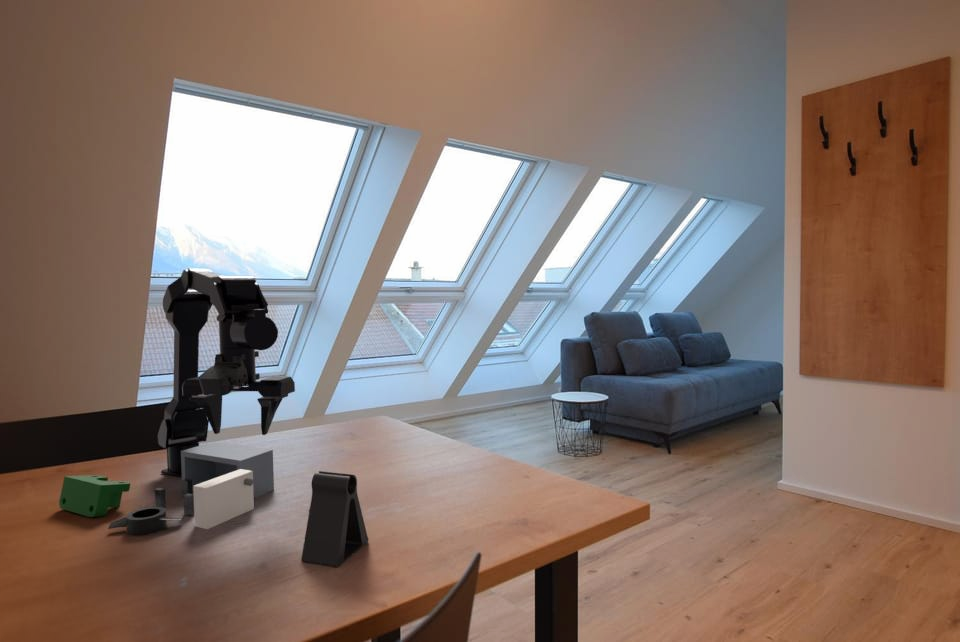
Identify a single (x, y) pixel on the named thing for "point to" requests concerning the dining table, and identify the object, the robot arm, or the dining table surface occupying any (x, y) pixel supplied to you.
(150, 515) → the dark grey tabbed ring
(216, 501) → the white block
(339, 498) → the phone stand
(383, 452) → the dining table surface
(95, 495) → the clamp
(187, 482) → the clip brackets
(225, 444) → the cabinet
